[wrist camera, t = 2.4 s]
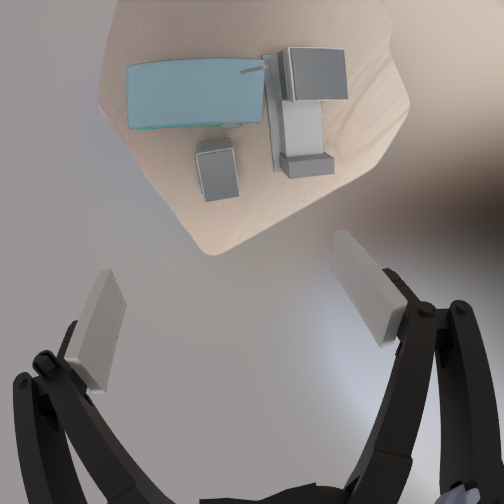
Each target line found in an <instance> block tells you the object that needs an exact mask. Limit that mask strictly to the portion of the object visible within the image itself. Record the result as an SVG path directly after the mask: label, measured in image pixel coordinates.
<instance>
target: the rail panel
mask: <svg viewBox="0 0 504 504" xmlns="http://www.w3.org/2000/svg"><path fill="white" fill-rule="evenodd" d="M272 55H274V54H268V55H261V57H262V59H263V60H265V65H267V66H268V68H267V69H266V70H265V80H264V81H265V90H266V99H267V108H268V117H269V127H270V136H271V147H272V157H273V168H274V172H275V171H282V169H281V168H280V159H279V153H282V154H284V155H285V156H286V157H294V156H303V155H314V154H324V152H323V129H322V112H321V101H304V102H290V101H283V100H275V99H274V97H273V88H272V79H271V70H270V62H269V57H271V56H272Z"/></svg>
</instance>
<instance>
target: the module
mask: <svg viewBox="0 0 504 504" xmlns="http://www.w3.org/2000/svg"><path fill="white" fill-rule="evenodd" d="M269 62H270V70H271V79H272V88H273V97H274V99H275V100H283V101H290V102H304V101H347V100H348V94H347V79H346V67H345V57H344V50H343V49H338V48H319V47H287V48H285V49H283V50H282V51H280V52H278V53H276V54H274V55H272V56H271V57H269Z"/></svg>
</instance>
